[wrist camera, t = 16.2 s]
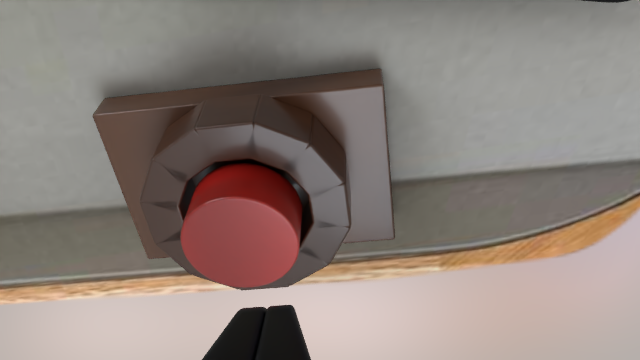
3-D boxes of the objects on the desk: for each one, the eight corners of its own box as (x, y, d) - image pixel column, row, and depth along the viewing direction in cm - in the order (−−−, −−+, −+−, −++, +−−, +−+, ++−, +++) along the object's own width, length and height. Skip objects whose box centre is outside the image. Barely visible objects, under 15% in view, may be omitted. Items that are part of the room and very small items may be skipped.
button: (293, 156, 17) (289, 192, 16) (309, 245, 19) (306, 284, 18) (180, 167, 18) (165, 203, 16) (207, 253, 19) (196, 292, 18)
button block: (381, 63, 18) (387, 108, 16) (393, 221, 22) (399, 279, 19) (102, 93, 19) (67, 140, 17) (157, 241, 23) (135, 298, 20)
